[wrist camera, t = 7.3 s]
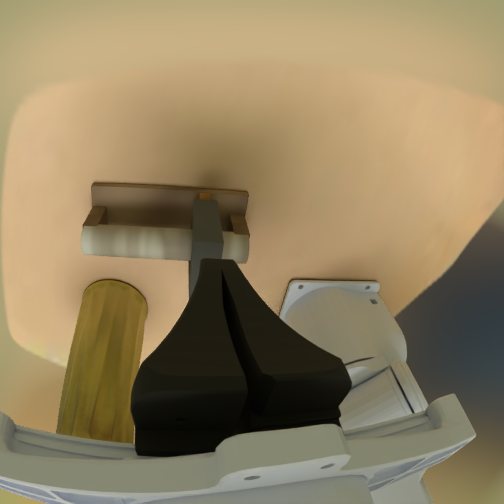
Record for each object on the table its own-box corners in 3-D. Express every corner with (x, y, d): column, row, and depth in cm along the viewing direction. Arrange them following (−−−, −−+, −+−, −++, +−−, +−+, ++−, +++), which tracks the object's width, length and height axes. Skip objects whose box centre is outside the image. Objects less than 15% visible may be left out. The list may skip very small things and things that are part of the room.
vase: (90, 327, 28) (66, 465, 16) (76, 277, 24) (31, 431, 13) (150, 329, 29) (146, 474, 17) (144, 279, 26) (129, 444, 14)
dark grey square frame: (217, 200, 21) (223, 242, 17) (210, 255, 24) (215, 303, 20) (193, 199, 21) (193, 241, 17) (188, 253, 23) (189, 302, 19)
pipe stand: (247, 192, 23) (258, 223, 19) (236, 250, 25) (245, 288, 22) (93, 182, 20) (73, 212, 17) (97, 243, 23) (83, 280, 19)
